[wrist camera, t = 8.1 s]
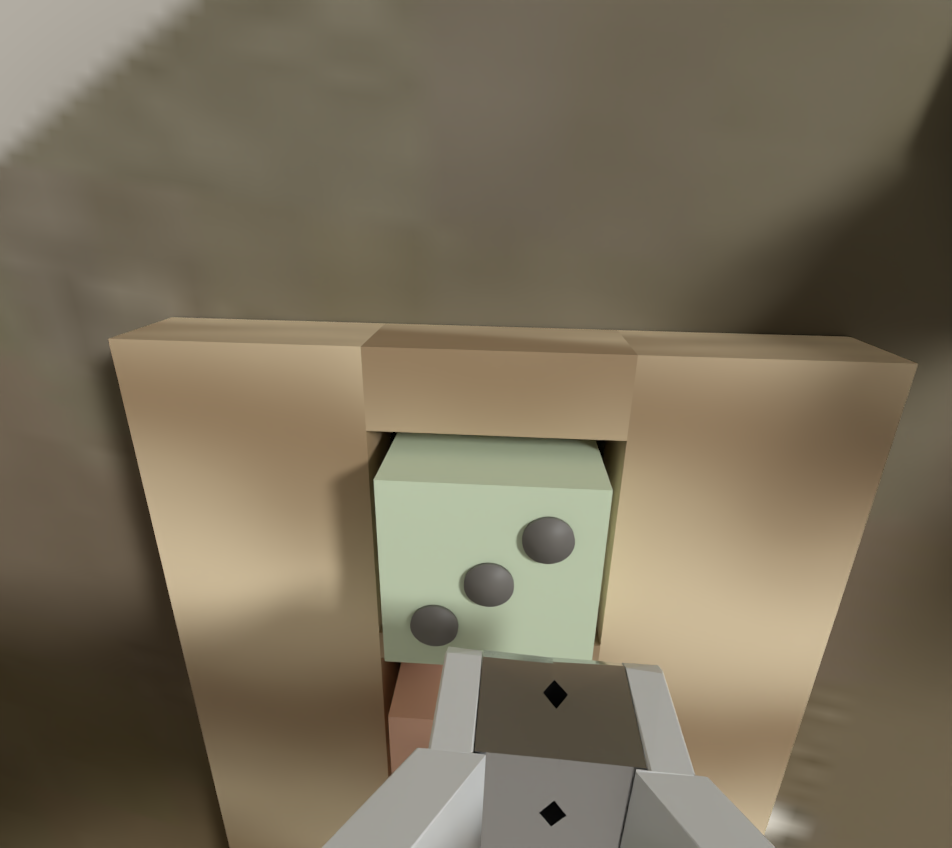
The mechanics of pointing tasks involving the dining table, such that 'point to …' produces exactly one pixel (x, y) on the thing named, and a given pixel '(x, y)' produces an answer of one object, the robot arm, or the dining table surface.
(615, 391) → the board
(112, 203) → the dining table surface
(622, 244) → the dining table surface
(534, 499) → the tile three
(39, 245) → the dining table surface
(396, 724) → the tile two
